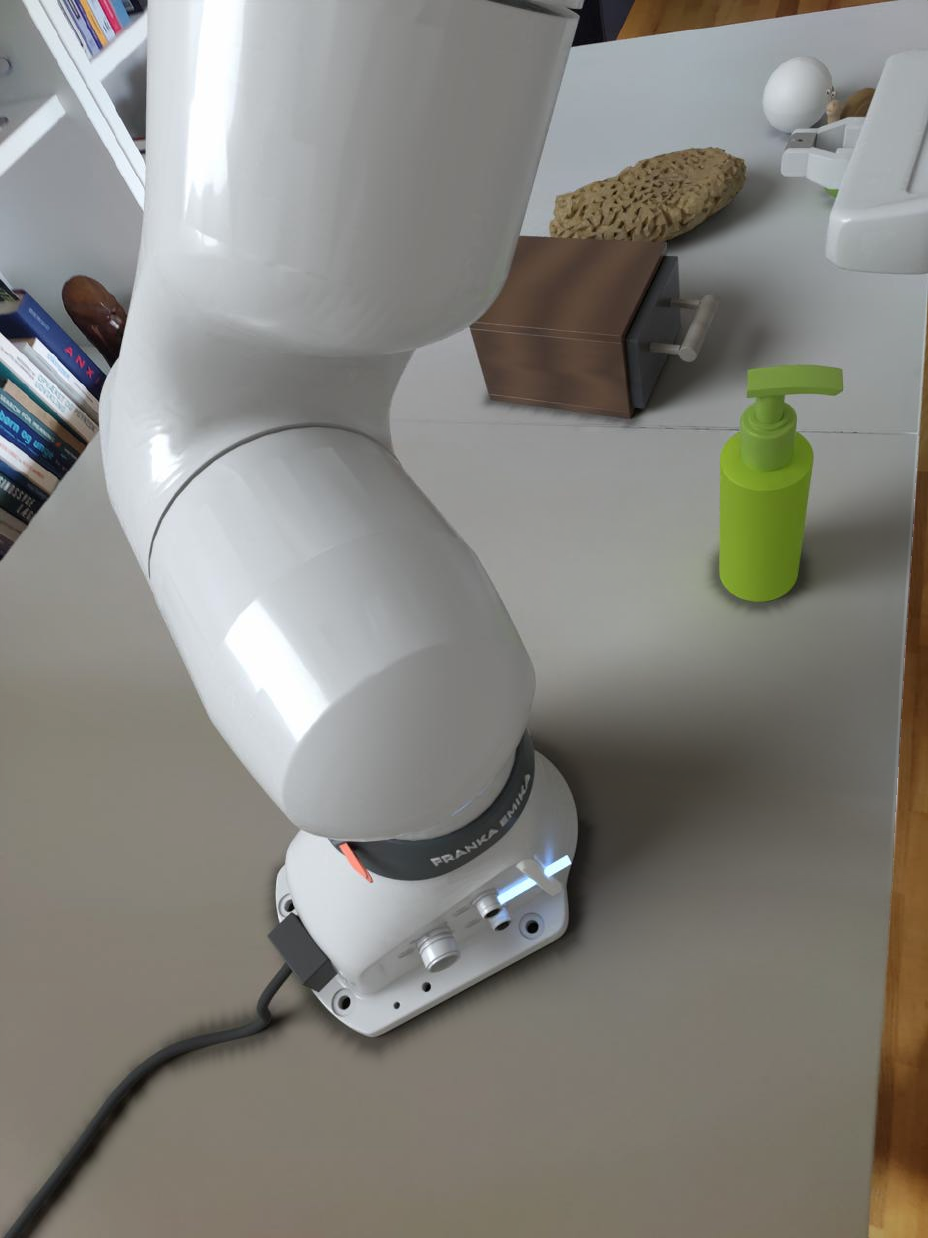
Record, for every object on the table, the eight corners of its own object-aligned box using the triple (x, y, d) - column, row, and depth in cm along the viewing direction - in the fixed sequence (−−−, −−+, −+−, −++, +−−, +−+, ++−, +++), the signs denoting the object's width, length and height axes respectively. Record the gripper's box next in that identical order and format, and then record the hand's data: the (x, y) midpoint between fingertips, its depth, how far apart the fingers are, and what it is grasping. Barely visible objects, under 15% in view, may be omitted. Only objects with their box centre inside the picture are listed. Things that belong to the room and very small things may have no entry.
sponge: (561, 287, 94) (748, 232, 85) (537, 218, 89) (733, 152, 80) (580, 234, 102) (752, 179, 93) (559, 169, 98) (738, 104, 88)
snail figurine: (799, 200, 90) (809, 82, 81) (849, 172, 91) (865, 51, 81) (835, 221, 87) (850, 100, 78) (886, 192, 88) (908, 68, 78)
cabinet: (671, 328, 84) (666, 241, 77) (630, 419, 79) (621, 335, 71) (536, 316, 90) (519, 234, 83) (489, 399, 85) (467, 321, 77)
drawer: (725, 330, 81) (726, 258, 75) (690, 414, 76) (688, 345, 70) (553, 314, 89) (540, 248, 82) (511, 391, 84) (494, 327, 77)
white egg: (834, 139, 95) (841, 69, 89) (763, 151, 97) (766, 84, 91) (823, 93, 100) (830, 24, 94) (756, 105, 102) (759, 38, 96)
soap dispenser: (812, 603, 64) (845, 409, 48) (717, 600, 66) (718, 413, 50) (812, 541, 67) (842, 338, 51) (720, 541, 69) (722, 345, 53)
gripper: (1046, 15, 56) (824, 26, 62) (1003, 202, 47) (750, 196, 53) (1018, 113, 61) (815, 115, 67) (975, 298, 52) (746, 283, 58)
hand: (785, 152), depth 60 cm, fingers closed
